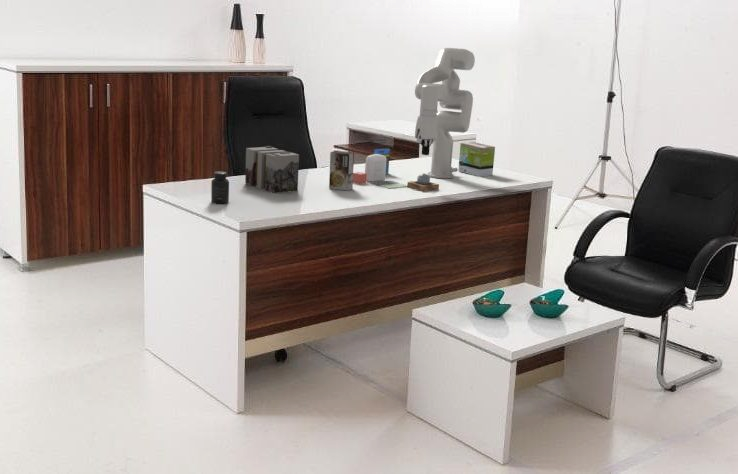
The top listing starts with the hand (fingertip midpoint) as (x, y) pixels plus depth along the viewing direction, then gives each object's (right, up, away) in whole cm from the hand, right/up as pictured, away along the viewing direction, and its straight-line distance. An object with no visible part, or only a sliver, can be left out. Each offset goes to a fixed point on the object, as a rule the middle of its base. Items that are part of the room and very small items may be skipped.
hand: (425, 154), depth 403 cm
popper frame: (-1, -15, +4) cm, 15 cm away
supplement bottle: (-83, -23, -48) cm, 99 cm away
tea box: (+28, -5, +50) cm, 57 cm away
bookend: (-67, -15, -12) cm, 70 cm away
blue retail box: (-20, -6, +35) cm, 41 cm away
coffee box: (-37, -16, -7) cm, 41 cm away
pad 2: (-13, -14, +5) cm, 20 cm away
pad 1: (-18, -12, +10) cm, 24 cm away
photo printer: (-22, -11, +16) cm, 29 cm away
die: (-29, -12, +9) cm, 33 cm away
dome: (-1, -13, +4) cm, 14 cm away
